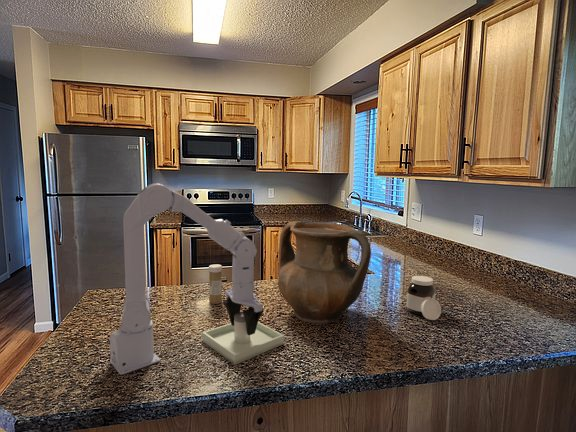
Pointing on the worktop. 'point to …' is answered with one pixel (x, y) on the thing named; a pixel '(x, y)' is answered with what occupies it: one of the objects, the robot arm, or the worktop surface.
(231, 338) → the tray
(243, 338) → the cylinder
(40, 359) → the worktop surface
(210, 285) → the sprinkles bottle
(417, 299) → the spread jar
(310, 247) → the jug
